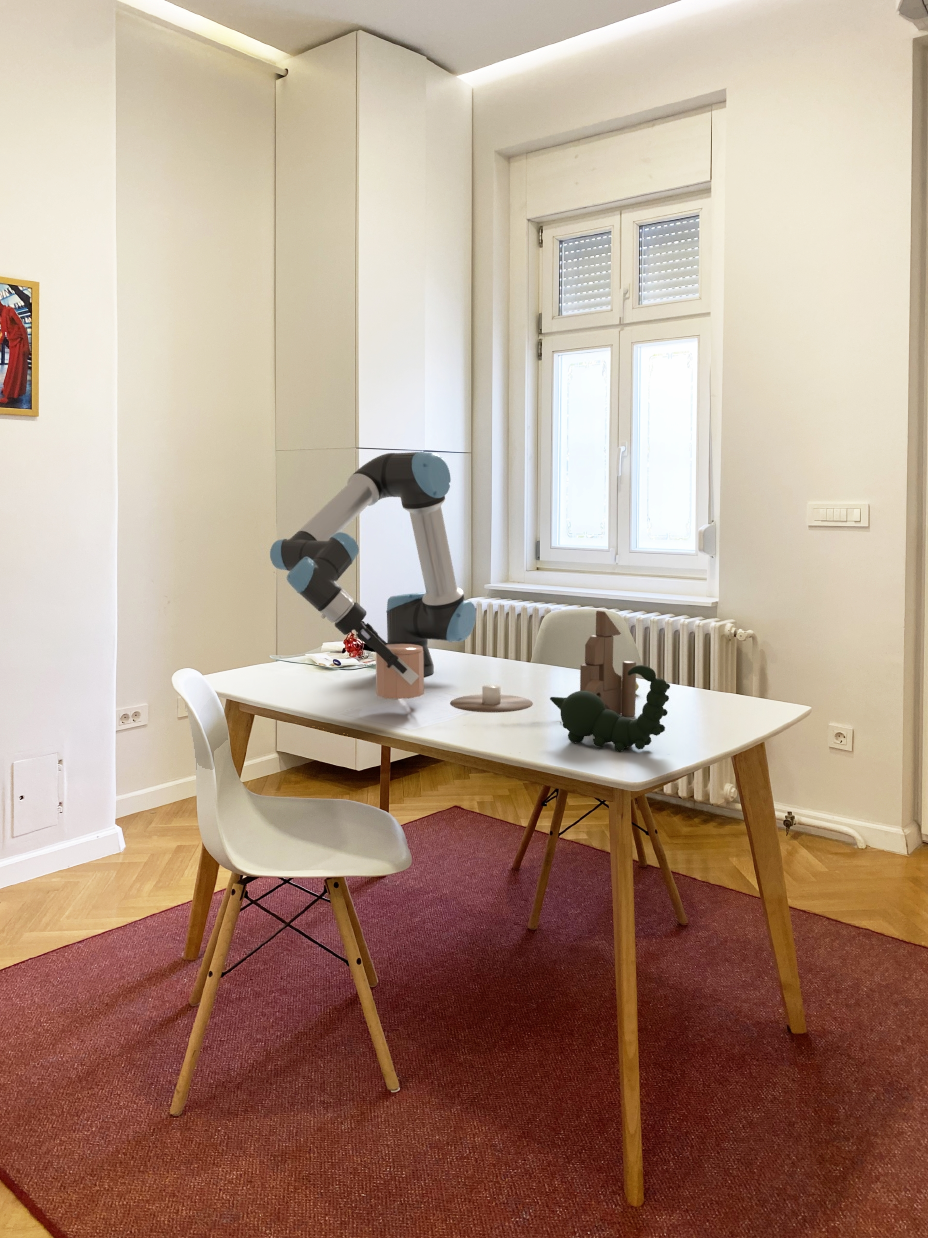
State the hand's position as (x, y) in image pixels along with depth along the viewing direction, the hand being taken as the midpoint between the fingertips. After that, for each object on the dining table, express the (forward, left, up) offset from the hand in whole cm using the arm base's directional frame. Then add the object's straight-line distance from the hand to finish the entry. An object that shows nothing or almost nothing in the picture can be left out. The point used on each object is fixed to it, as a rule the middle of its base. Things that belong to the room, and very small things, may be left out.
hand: (411, 675), depth 227 cm
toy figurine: (+38, +35, -9) cm, 53 cm away
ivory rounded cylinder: (0, +19, -7) cm, 21 cm away
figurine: (-7, +56, -9) cm, 57 cm away
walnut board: (0, +19, -9) cm, 21 cm away
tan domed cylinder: (0, -3, -4) cm, 5 cm away
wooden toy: (+14, +43, -9) cm, 46 cm away
